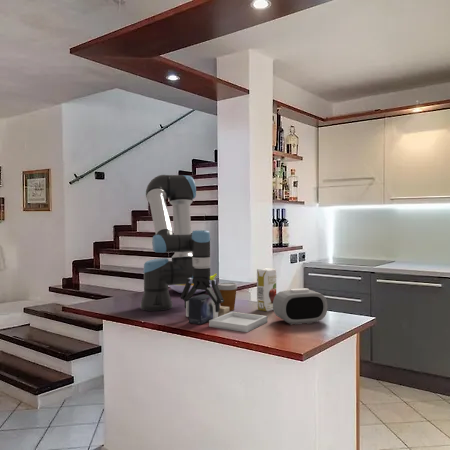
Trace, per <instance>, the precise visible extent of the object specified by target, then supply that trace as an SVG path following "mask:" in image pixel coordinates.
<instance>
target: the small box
mask: <svg viewBox="0 0 450 450" xmlns="http://www.w3.org/2000/svg"><path fill="white" fill-rule="evenodd" d="M213 304H215V303H214V302H213V300H212V299H211V297H210V296H209V294H204V293H202V294H197V295H195V296H192V297H191V298H189V317H188V323H190V324H195V325H204V324H206V323H209V320H212V319H213Z"/></svg>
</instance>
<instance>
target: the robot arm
mask: <svg viewBox="0 0 450 450" xmlns="http://www.w3.org/2000/svg"><path fill="white" fill-rule="evenodd" d="M196 196H197V186H196V182H195V180H194V178H193V176H191V175H184V174H159V175H157V176H155V177H154V178H153V179H151V180H150V181H149V183H148V185H147V186H146V191H145V198H146V201H147V203H149V206H150V207H149V208H150V213H151V218H152V223H153V227H154V232H155V234H154V235H153V236H152V240H151V241H152V244H151V245H152V250H153V252H155V253H161V254H162V253H163V254H164V253H165V254H166V253H174V254H173V255H172V256H171V260H169V258H167V257H163V258H155V259H150V260H147V261H145V262H144V263H143V271H142V272H143V294H142V296H141V297H142V298H141V301H140V304H139V305H140V310H142V311H147V312H150V311H152V312H159V311H160V312H161V311H166V310H170V309H172V308H173V301H172V298H171V295H170V292H169V285H181V284H186V285H185V287H184V290H183V292H182V293H181V295H180V300H183V301H184V308H185V317H187V318H189V298H191V297H193V295H195V294H194V293H195V291H196V290H199V289H201V290H205V291H204V292H206V294H207V295H209V296H210V297H211V299H212V300H213V302H214V304H213V319H214V318H217V317H218V312H219V311H220V303H222V302H224V299H223V297H222V295H221V292H220V290H219V288H218V280H217V279H215V278H214V279H213V280H210V276H211V268H210V267H211V232H210V231H209V230H202V229H200V230H199V229H197V230H193V231H192V226H191V225H192V224H191V221H192V220H191V204H192V203H193V200H194V199H195V198H196ZM167 199H169V200H168V201H169V204H170V205H171V206H172V220H173V221H172V222H173V228H172V222H171V219H170V214H169V211H168V205H167V201H166V200H167ZM210 283H211V285H212V287H211V286H210ZM191 284H194V285H193V286H192V289H191V290H190V291H189V289H190V287H191ZM188 291H189V293H188Z"/></svg>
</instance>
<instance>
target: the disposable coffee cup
mask: <svg viewBox="0 0 450 450" xmlns="http://www.w3.org/2000/svg"><path fill="white" fill-rule="evenodd" d="M217 285H218V288H219V290H220V292H221V295H222V297H223V299H224V302H222V303H220V306H226V307H229V311H230V312H233V311H235V307H236V306H235V304H236V295H237V289H238V284H237V283H236V282H219V283H217Z"/></svg>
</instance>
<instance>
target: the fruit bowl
mask: <svg viewBox="0 0 450 450" xmlns="http://www.w3.org/2000/svg"><path fill="white" fill-rule="evenodd" d="M217 274H218V273H214V274H213V275H210V280H215V278H216V277H217V276H218V275H217ZM185 285H186V284H181V285H168V287H169V288H170V289H171V290H173V291H174V292H177V293H179V294H182V292H183V290H184V287H185ZM193 285H194V284H191V287H190V289H189V291H190V290H191V289H192V286H193ZM210 286H211V288H212V285H211V283H210ZM189 291H188V293H189ZM204 292H206V291H205V290H201V289H199V290H196V291H195V293H194V294H193V295H198V294H200V293H204Z"/></svg>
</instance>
